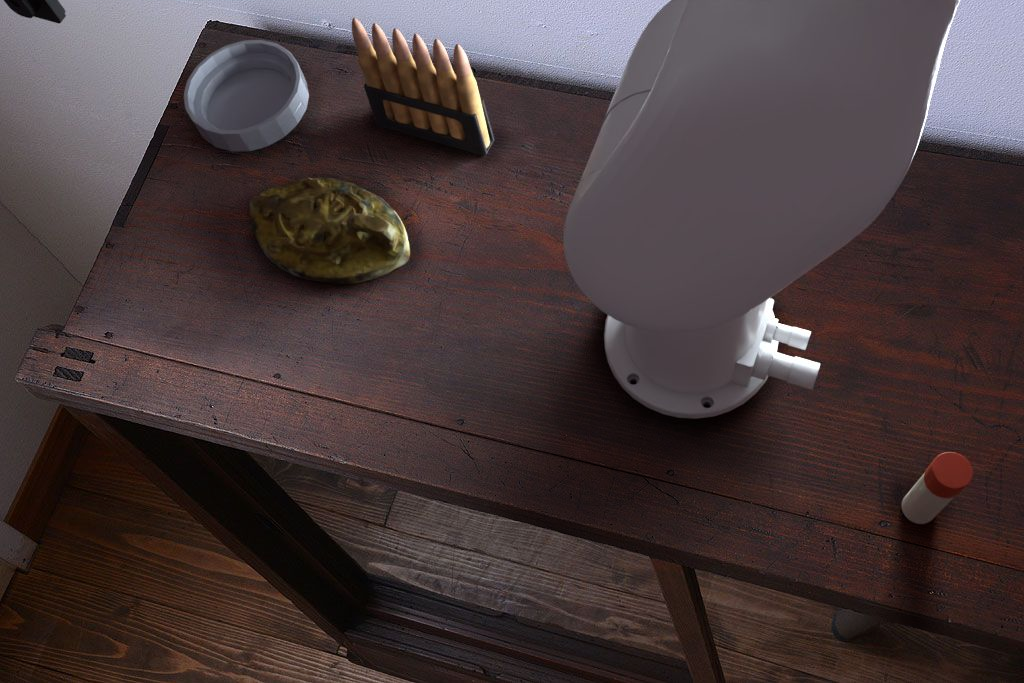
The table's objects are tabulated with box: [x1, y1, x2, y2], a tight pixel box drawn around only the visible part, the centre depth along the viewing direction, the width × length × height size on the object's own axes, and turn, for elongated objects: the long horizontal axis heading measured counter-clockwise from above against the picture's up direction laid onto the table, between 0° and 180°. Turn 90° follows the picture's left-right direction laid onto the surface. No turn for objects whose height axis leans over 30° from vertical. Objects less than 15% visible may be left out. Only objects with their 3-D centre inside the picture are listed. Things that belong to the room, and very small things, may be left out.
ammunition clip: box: [351, 17, 495, 157], centre depth 78 cm, size 11×2×12 cm, turn 66°
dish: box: [183, 39, 310, 153], centre depth 86 cm, size 10×10×3 cm
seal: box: [248, 176, 411, 285], centre depth 78 cm, size 9×5×15 cm
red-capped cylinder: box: [900, 451, 974, 525], centre depth 61 cm, size 2×2×8 cm
